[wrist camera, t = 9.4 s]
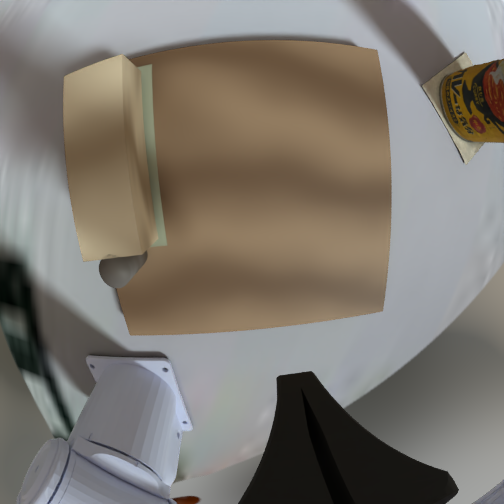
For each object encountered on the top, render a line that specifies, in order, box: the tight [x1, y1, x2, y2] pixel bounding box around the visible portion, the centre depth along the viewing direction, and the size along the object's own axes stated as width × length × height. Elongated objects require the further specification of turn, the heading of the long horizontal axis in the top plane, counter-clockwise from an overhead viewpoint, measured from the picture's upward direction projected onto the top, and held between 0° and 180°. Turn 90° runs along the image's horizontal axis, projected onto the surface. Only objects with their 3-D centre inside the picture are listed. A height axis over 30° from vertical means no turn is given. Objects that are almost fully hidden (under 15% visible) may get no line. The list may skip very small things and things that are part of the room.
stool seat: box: [116, 40, 391, 335], centre depth 16 cm, size 18×18×2 cm
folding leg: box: [63, 54, 158, 288], centre depth 13 cm, size 12×4×3 cm, turn 6°
